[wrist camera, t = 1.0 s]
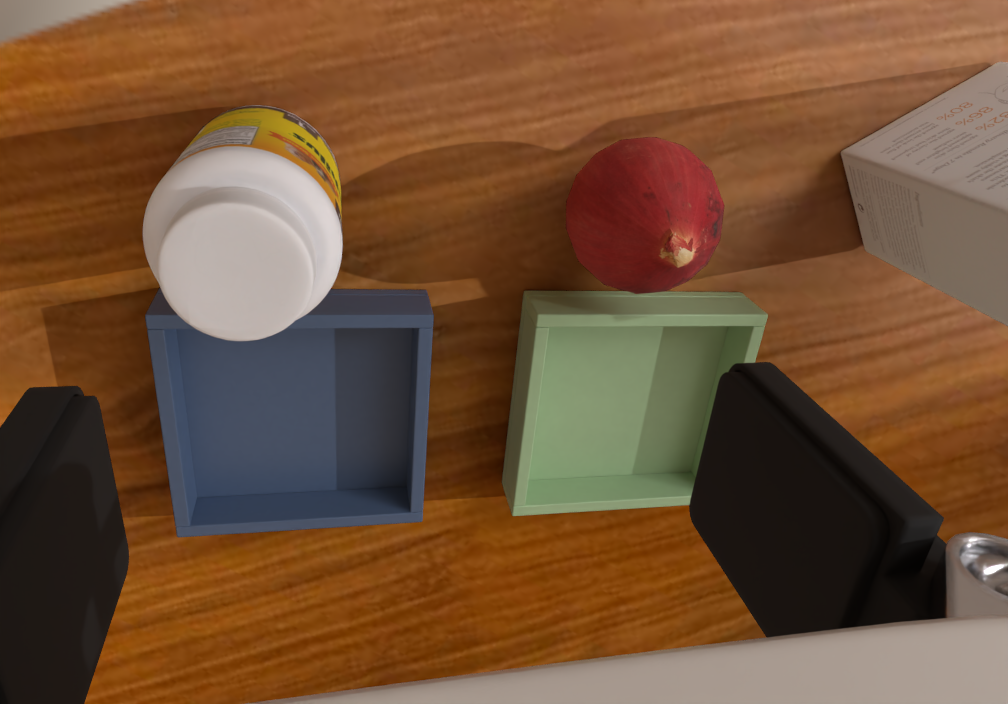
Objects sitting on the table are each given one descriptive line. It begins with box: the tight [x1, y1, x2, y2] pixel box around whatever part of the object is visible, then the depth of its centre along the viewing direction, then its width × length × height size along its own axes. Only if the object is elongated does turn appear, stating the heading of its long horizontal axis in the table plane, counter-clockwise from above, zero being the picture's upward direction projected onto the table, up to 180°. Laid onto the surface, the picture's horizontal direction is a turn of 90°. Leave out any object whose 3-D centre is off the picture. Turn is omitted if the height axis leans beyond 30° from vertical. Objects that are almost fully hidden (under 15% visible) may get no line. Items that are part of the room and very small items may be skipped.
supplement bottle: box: [143, 105, 343, 341], centre depth 24 cm, size 6×6×10 cm
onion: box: [566, 137, 724, 294], centre depth 28 cm, size 6×6×8 cm
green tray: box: [502, 291, 768, 516], centre depth 35 cm, size 11×11×3 cm
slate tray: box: [145, 288, 434, 537], centre depth 32 cm, size 11×11×3 cm
